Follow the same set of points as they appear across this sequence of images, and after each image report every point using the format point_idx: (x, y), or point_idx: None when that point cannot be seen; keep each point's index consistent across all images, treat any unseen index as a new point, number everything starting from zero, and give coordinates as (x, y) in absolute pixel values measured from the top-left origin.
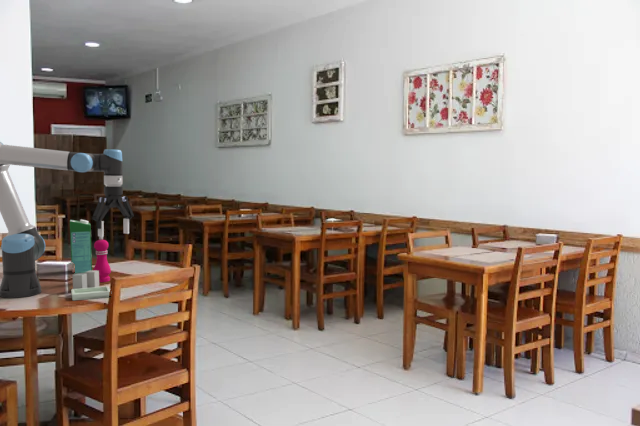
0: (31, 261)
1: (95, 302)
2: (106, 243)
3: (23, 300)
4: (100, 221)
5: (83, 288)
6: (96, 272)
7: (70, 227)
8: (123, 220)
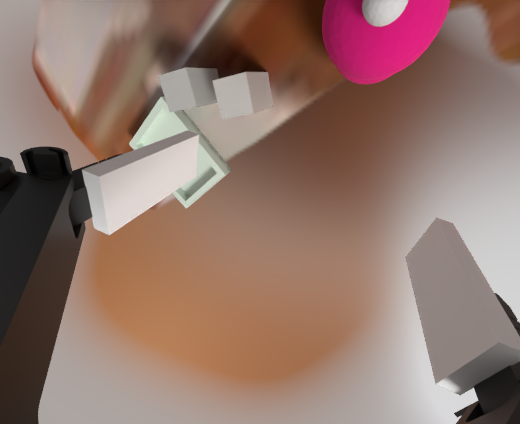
0: None
1: None
2: (367, 75)
3: (80, 8)
4: (87, 212)
5: (180, 125)
6: (238, 116)
7: None
8: (484, 318)
